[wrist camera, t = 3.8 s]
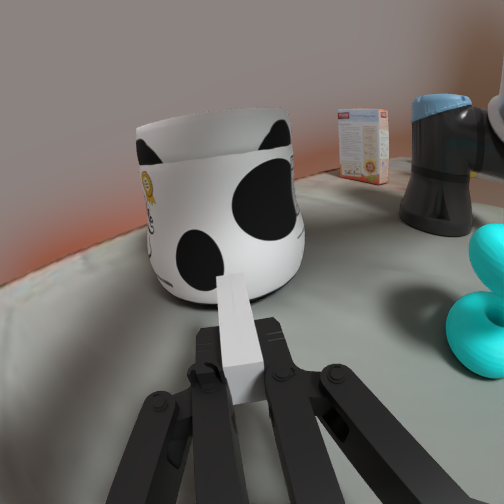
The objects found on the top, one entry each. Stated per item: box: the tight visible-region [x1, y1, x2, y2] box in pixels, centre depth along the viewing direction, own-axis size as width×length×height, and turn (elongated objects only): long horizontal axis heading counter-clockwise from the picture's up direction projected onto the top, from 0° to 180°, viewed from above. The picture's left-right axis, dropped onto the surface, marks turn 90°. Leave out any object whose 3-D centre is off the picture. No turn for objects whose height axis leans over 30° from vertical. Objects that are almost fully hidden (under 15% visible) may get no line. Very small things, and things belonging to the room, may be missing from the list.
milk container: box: [136, 107, 305, 305], centre depth 29 cm, size 17×17×18 cm
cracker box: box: [338, 109, 389, 185], centre depth 68 cm, size 14×6×21 cm, turn 35°
